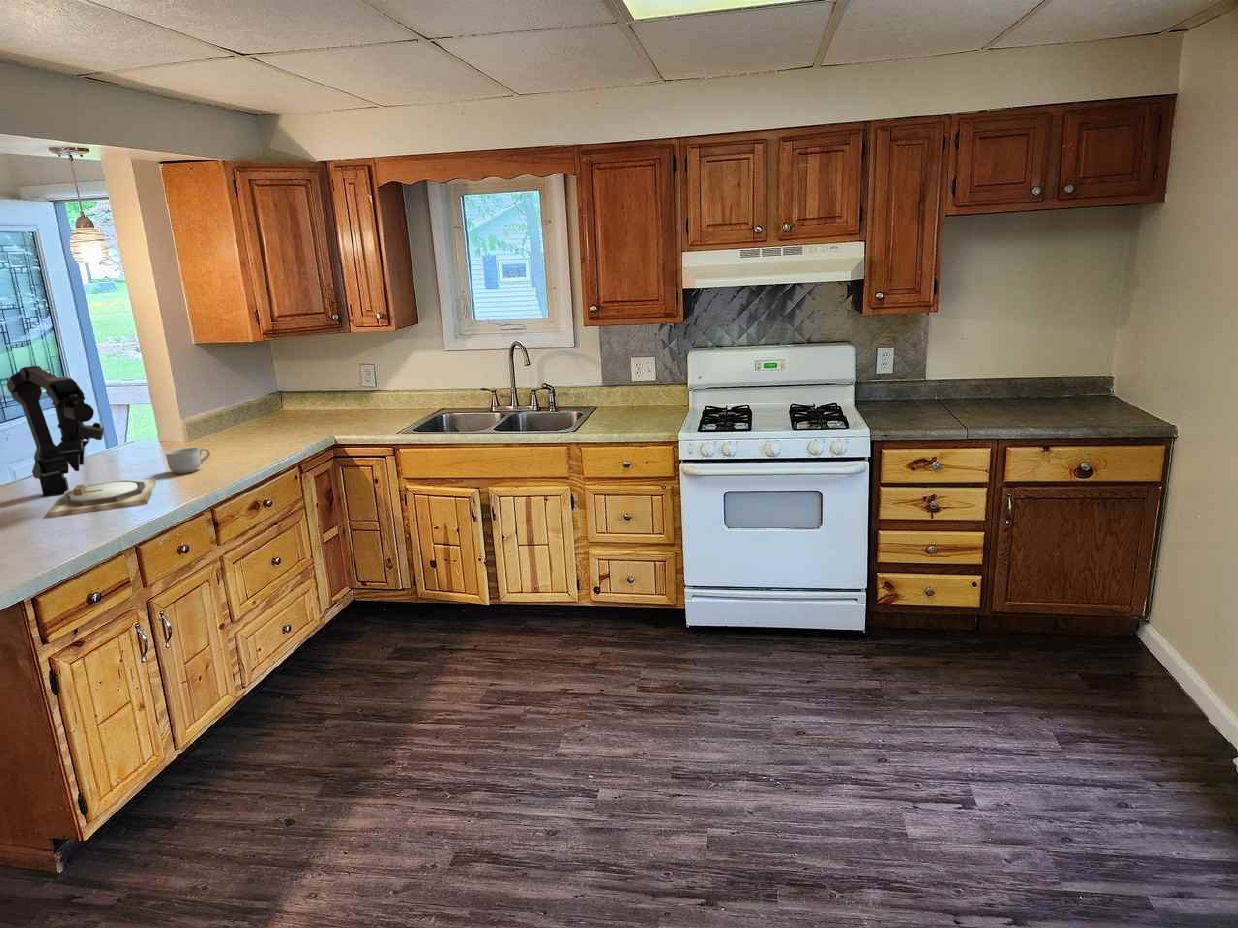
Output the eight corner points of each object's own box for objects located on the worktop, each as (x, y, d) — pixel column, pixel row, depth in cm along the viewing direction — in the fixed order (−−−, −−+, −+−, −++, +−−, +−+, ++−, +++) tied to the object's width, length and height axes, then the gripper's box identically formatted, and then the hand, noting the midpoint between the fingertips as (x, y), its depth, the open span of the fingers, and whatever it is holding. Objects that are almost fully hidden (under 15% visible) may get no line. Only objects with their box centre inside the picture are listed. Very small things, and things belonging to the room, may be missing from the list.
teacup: (167, 477, 282) (163, 455, 280) (170, 470, 292) (166, 448, 290) (211, 471, 287) (207, 450, 285) (213, 465, 297) (209, 444, 295)
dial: (141, 483, 269) (139, 473, 268) (134, 497, 253) (132, 486, 252) (76, 491, 262) (74, 481, 261) (64, 507, 245) (62, 495, 245)
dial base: (49, 517, 241) (46, 507, 240) (66, 495, 264) (64, 486, 263) (147, 503, 251) (145, 494, 250) (156, 483, 274) (154, 475, 273)
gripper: (95, 421, 245) (105, 470, 249) (103, 411, 261) (112, 457, 265) (51, 425, 240) (63, 475, 244) (62, 415, 256) (72, 462, 261)
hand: (79, 467), depth 254 cm, fingers open, 9 cm apart
